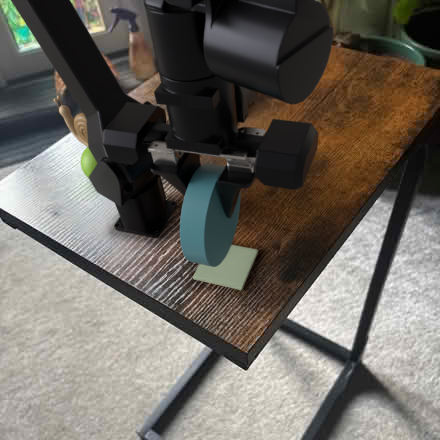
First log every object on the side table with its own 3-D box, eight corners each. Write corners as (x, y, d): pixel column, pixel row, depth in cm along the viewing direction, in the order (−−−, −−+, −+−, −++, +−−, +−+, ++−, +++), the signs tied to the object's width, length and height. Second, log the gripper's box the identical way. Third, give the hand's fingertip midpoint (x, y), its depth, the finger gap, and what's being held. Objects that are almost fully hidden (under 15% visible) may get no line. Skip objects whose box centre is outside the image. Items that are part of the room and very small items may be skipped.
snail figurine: (98, 162, 69) (68, 85, 60) (132, 171, 67) (107, 93, 57) (75, 184, 67) (40, 108, 57) (110, 195, 64) (80, 117, 55)
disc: (197, 270, 42) (215, 159, 40) (172, 265, 43) (189, 155, 41) (230, 263, 52) (246, 173, 50) (209, 259, 52) (225, 170, 50)
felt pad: (241, 290, 52) (241, 288, 51) (193, 279, 53) (192, 277, 53) (258, 251, 55) (258, 249, 54) (211, 242, 57) (211, 240, 56)
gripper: (340, 19, 37) (325, 176, 49) (134, 10, 42) (168, 153, 54) (304, 95, 31) (298, 251, 43) (71, 73, 36) (125, 217, 49)
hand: (217, 212), depth 47 cm, fingers closed on disc, 2 cm apart
